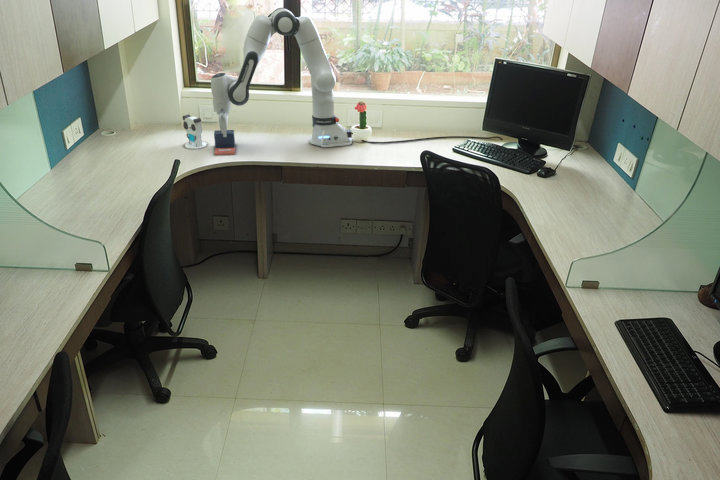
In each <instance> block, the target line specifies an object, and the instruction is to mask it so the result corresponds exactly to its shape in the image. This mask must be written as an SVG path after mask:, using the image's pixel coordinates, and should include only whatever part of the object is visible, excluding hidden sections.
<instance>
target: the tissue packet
mask: <svg viewBox="0 0 720 480" xmlns="http://www.w3.org/2000/svg"><path fill="white" fill-rule="evenodd" d="M235 154H236V147H235V148H214V156H226V155H229V156H230V155H235Z"/></svg>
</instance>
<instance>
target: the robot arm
mask: <svg viewBox="0 0 720 480" xmlns="http://www.w3.org/2000/svg"><path fill="white" fill-rule="evenodd" d="M276 33H277V34H278V35H280V36H287V37H288V36H294V37H295V39H296V42H297V44H298V47H299V50H300V52H301V54H302V57H303V61H304V62H305V64H306V68H307V70H308V73H309V74H310V85H311V99H312V115H311V126H312V129H311V137H310V141H309V143H310V144H312V145H315V146H318V147H322V148H334V147H343V146H344V147H345V146H351V145H352V144H353V139H352V137H353V133H354V132H352V129H346V127H345V126H343V125H342V124H341V123H339V122H340V118H339V117H338V116H337V115H336V114H335V99H334V91H333V89H334V88H335V86H336V82H337V81H336V76H335V73H334V70H333V68H332V65H331V62H330V59H329V57H328V56H327V52H326V50H325V48H324V47H325V46H324V45H323V43H322V39H321V37H320V34H319V31H318V29H317V27H316V25H315V23H314V22H313V20H312V18H311V17H310V16H307V15H300V16H299V17H296V16H295V15H294V13H292V11H290V10H289V9H287V8H286V7H278V8H276V9H274V11H272V12H271V13H270V14H268V15H264V14H259V15H256V16H255V17H254V19H253V21H251V24H250V26H249V28H248V30H247V32H246V35H245V37H244V38H245V39H244V43H243V50H242V51H243V60H242V66H241V69H240V71H239V74H238V76H237V77H233V76H230V75H228V74H227V73H225V72H218V73H215V74H213V75H212V76H211V79H210V90H211V95H212V106H213V107H212V108H213V112H215V113H216V115H217V116H218V125H219V130H221V131H222V133H223V137H227V133H226V130H228V125H229V114H230V112H231V111H232V105H234V106H237V107H238V106H244V105H246V104H247V103H248V102H249V99H250V85H251V83H252V80H253V77H254V74H255V71H256V69H257V67H258V65H259V63H260V62H261V59H262V58H263V56H264V54H265V53H266V50H267V48H268V45H269V44H270V40H271V38H272V37H273V36H274V34H276ZM453 138H457V139H458V138H459V139H462V138H463V139H464V138H465V139H481V140H491V139H499V140H501V141H504V138H503V137H501V136H498V135H497V136H496V135H495V136H488V137H485V136H470V135H469V136H468V135H467V136H466V135H449V136H432V137H423V138H415V139H414V138H413V139H406V140H404V139H403V140H394V141H391V140H390V141H367V140H364V139H363V140H361V142H363V143H368V144H397V143H407V142H415V141H425V140H434V139H453Z"/></svg>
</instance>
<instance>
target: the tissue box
mask: <svg viewBox="0 0 720 480" xmlns="http://www.w3.org/2000/svg"><path fill="white" fill-rule="evenodd" d="M226 133H227V137H223V133H222V131H221V130H220V129H218V130H214V131H213V137H214V147H215V148H235V149H236V139H235V138H236V137H235V129H227V130H226ZM215 148H214V149H215Z"/></svg>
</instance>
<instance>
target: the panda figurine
mask: <svg viewBox="0 0 720 480" xmlns="http://www.w3.org/2000/svg"><path fill="white" fill-rule="evenodd" d="M182 121H183V129H184V130H185V133H186V137H187V139H188V142H187V143H185V144H184V147H185V148H186V149H188V150H189V149H190V150H198V149H203V148H206V147H207V144H208V143H207V142H205V141H203V139H202V133H203V125H202V119H201V117H196V116H193V115H192V116H191V115H190V114H184V115H182Z"/></svg>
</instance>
